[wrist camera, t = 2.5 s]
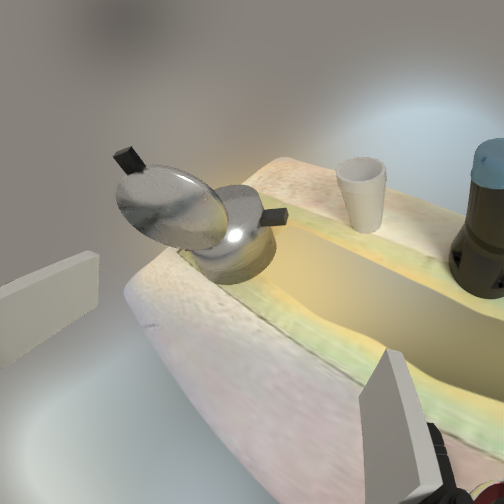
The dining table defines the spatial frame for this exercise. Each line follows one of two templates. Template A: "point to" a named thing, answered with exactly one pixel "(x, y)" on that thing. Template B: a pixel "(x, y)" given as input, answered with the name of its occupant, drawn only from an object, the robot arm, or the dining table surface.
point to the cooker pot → (242, 238)
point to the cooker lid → (169, 204)
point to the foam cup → (363, 192)
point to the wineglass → (488, 492)
